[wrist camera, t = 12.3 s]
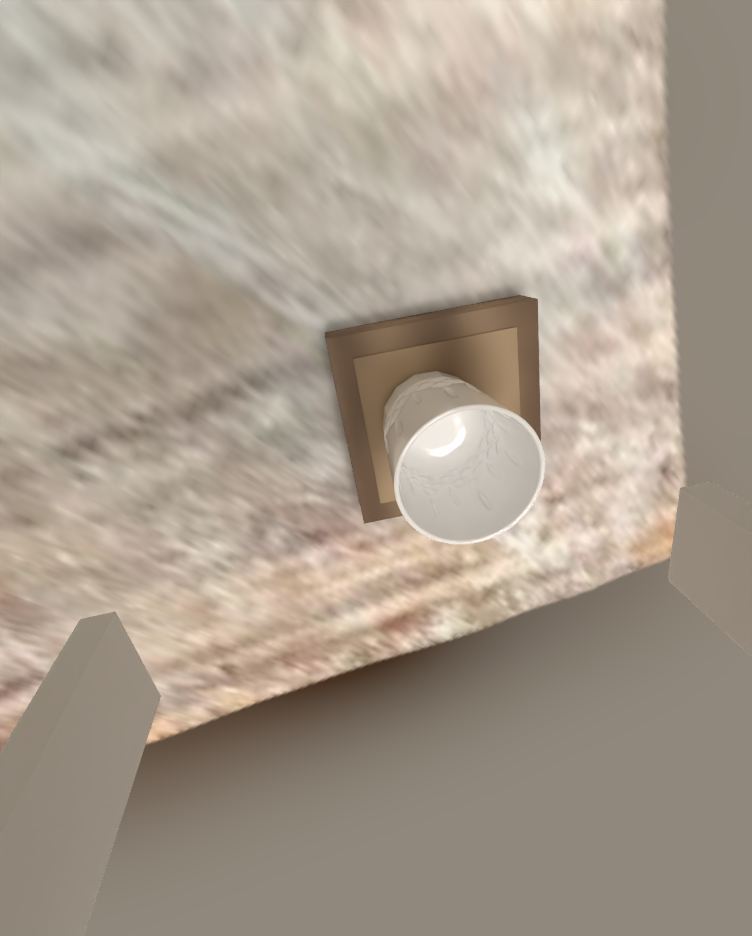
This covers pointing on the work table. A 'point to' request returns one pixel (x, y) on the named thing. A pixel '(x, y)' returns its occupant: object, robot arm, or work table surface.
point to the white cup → (459, 459)
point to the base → (425, 350)
